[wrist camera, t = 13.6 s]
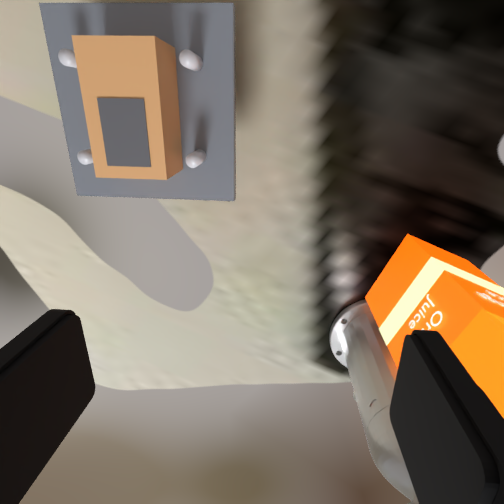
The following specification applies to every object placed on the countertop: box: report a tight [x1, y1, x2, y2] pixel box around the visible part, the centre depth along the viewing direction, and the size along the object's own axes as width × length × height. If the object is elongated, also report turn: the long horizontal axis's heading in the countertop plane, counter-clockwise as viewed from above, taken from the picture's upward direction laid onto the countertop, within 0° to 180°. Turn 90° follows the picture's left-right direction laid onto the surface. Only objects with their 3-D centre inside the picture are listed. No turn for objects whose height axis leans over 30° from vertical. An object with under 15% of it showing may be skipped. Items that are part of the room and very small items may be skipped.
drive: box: [71, 35, 183, 180], centre depth 27 cm, size 10×6×5 cm, turn 179°
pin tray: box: [39, 3, 236, 201], centre depth 29 cm, size 16×16×4 cm
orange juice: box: [365, 234, 504, 418], centre depth 28 cm, size 8×9×20 cm
